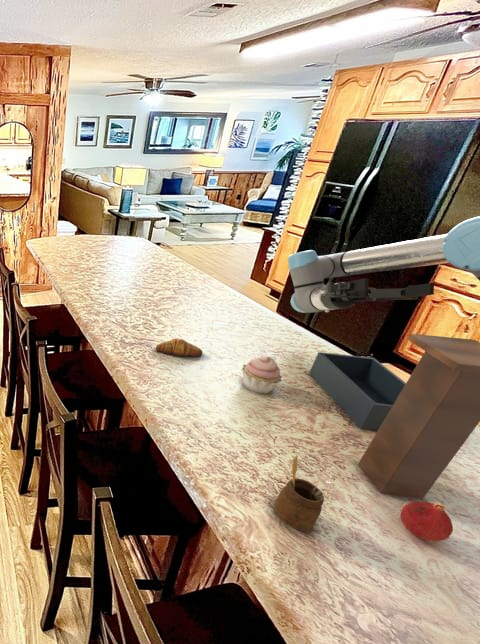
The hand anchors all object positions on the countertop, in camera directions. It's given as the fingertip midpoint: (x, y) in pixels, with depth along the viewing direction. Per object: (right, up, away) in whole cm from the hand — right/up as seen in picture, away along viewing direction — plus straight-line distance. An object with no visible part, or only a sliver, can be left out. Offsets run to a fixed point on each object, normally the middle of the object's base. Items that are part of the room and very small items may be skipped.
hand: (399, 286), depth 91 cm
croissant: (-40, -19, +27) cm, 52 cm away
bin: (-2, -29, +8) cm, 30 cm away
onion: (-23, -45, -24) cm, 56 cm away
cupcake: (-25, -27, +13) cm, 39 cm away
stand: (-17, -40, -14) cm, 45 cm away
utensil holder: (-42, -43, -22) cm, 64 cm away
